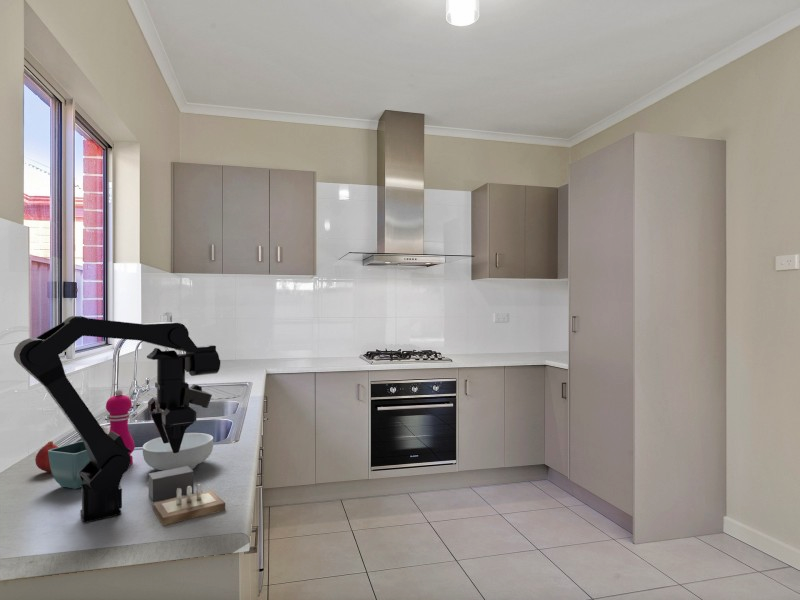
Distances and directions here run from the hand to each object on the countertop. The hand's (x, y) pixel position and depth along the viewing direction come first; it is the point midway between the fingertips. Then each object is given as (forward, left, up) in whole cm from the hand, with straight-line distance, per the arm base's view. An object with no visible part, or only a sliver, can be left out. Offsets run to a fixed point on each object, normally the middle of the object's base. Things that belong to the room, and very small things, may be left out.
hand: (170, 447), depth 114 cm
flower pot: (-16, +20, -11) cm, 28 cm away
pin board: (+1, -11, -11) cm, 15 cm away
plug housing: (0, 0, -11) cm, 11 cm away
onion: (-21, +34, -11) cm, 41 cm away
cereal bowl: (+6, +18, -11) cm, 22 cm away
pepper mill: (-6, +30, -11) cm, 32 cm away
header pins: (+1, -11, -9) cm, 14 cm away
